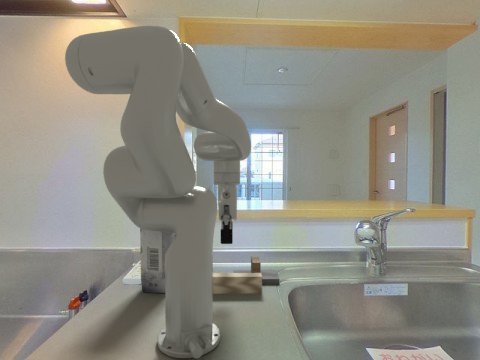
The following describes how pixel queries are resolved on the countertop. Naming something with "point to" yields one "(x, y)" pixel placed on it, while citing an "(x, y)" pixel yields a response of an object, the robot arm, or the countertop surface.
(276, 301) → the countertop surface
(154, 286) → the juice carton
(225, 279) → the beech bar
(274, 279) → the grey slab with post
